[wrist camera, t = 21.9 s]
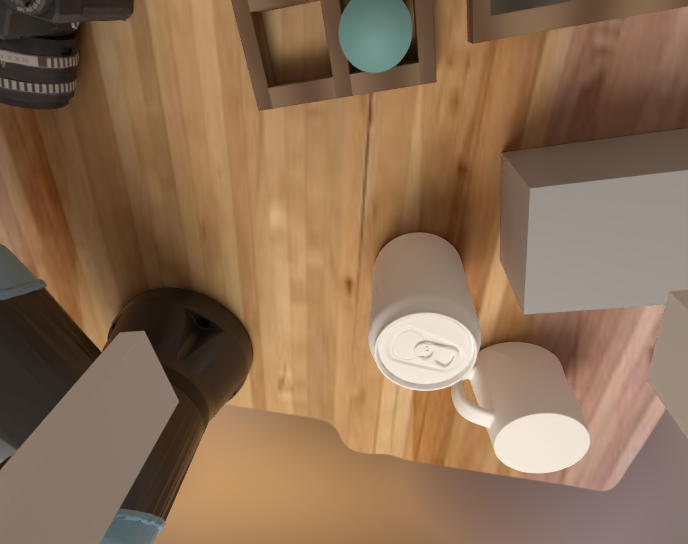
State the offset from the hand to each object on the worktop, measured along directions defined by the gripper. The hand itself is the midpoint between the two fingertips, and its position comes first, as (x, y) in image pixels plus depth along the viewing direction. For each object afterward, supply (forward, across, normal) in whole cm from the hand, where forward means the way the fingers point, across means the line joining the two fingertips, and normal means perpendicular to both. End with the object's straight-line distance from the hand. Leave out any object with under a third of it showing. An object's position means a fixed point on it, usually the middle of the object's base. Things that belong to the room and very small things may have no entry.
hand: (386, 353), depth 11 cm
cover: (+27, +16, -8) cm, 32 cm away
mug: (+27, +9, -26) cm, 39 cm away
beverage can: (+27, +1, -13) cm, 30 cm away
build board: (+27, -3, +7) cm, 28 cm away
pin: (+27, 0, +7) cm, 28 cm away
